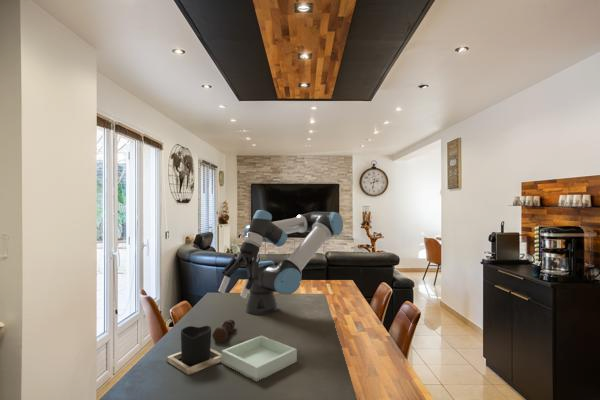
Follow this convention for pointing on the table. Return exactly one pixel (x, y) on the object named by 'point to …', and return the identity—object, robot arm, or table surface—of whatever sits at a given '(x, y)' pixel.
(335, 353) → the table surface
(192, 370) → the square wooden frame
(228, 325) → the bolt
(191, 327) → the pen holder
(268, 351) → the bin
